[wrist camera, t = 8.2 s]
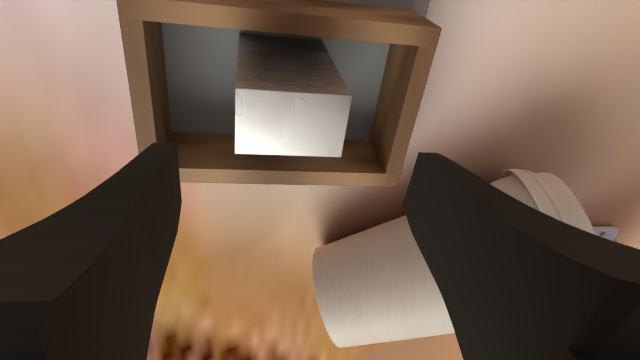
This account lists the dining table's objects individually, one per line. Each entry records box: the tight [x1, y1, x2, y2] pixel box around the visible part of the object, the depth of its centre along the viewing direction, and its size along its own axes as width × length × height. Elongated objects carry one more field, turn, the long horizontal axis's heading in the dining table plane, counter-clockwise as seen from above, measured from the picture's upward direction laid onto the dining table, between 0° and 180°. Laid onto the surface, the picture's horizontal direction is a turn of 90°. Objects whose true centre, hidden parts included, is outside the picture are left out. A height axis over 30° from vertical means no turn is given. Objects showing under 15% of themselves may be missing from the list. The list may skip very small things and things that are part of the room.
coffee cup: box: [312, 169, 596, 348], centre depth 25 cm, size 10×10×15 cm
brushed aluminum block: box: [235, 33, 352, 157], centre depth 17 cm, size 4×4×7 cm
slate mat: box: [161, 0, 429, 141], centre depth 21 cm, size 14×10×1 cm
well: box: [117, 0, 442, 187], centre depth 19 cm, size 13×8×4 cm, turn 83°
